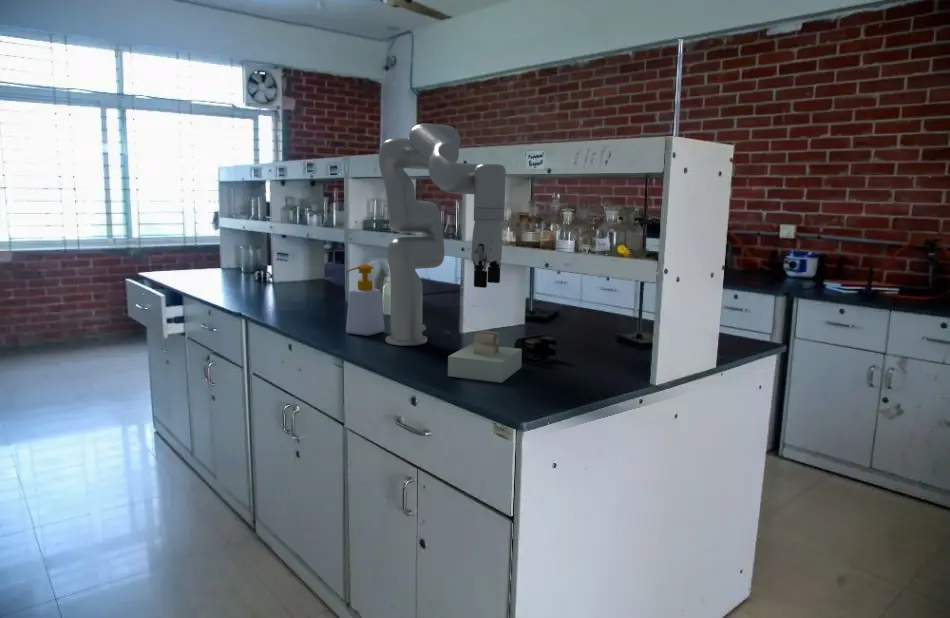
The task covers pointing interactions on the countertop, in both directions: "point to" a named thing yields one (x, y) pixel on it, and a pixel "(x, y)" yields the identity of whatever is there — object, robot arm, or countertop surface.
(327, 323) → the countertop surface
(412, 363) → the countertop surface
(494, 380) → the sage stand
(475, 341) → the maple cube
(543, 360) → the end cap
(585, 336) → the countertop surface
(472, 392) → the countertop surface
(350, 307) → the soap bottle
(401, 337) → the robot arm
